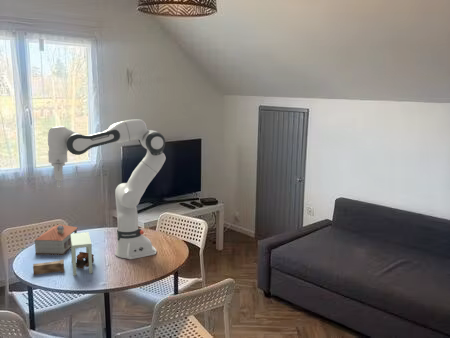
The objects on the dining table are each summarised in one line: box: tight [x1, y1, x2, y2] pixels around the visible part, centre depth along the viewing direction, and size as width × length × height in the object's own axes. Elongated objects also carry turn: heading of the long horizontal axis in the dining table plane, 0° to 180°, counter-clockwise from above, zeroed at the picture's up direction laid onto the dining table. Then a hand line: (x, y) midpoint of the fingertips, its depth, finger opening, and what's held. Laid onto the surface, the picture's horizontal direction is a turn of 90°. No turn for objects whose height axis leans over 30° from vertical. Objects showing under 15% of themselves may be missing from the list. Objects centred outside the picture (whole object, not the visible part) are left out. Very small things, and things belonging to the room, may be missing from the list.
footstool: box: [70, 231, 94, 277], centre depth 216 cm, size 9×19×16 cm, turn 22°
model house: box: [34, 224, 79, 256], centre depth 243 cm, size 24×16×15 cm, turn 179°
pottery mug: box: [76, 251, 95, 270], centre depth 218 cm, size 12×9×8 cm
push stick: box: [32, 258, 65, 276], centre depth 211 cm, size 14×6×4 cm, turn 112°
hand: (58, 185), depth 215 cm, fingers open, 8 cm apart
